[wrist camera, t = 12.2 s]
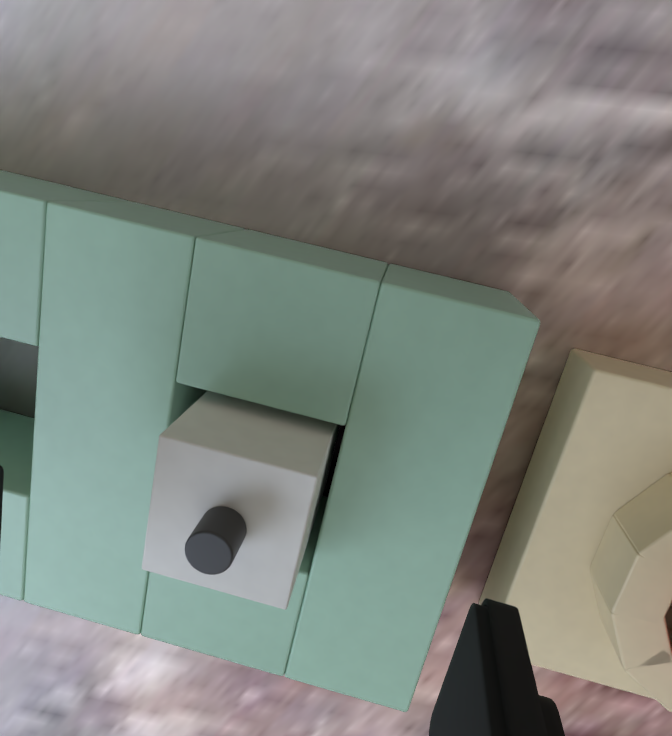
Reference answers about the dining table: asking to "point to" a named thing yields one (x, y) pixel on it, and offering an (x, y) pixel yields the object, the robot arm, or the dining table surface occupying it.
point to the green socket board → (255, 384)
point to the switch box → (597, 530)
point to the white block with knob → (237, 497)
